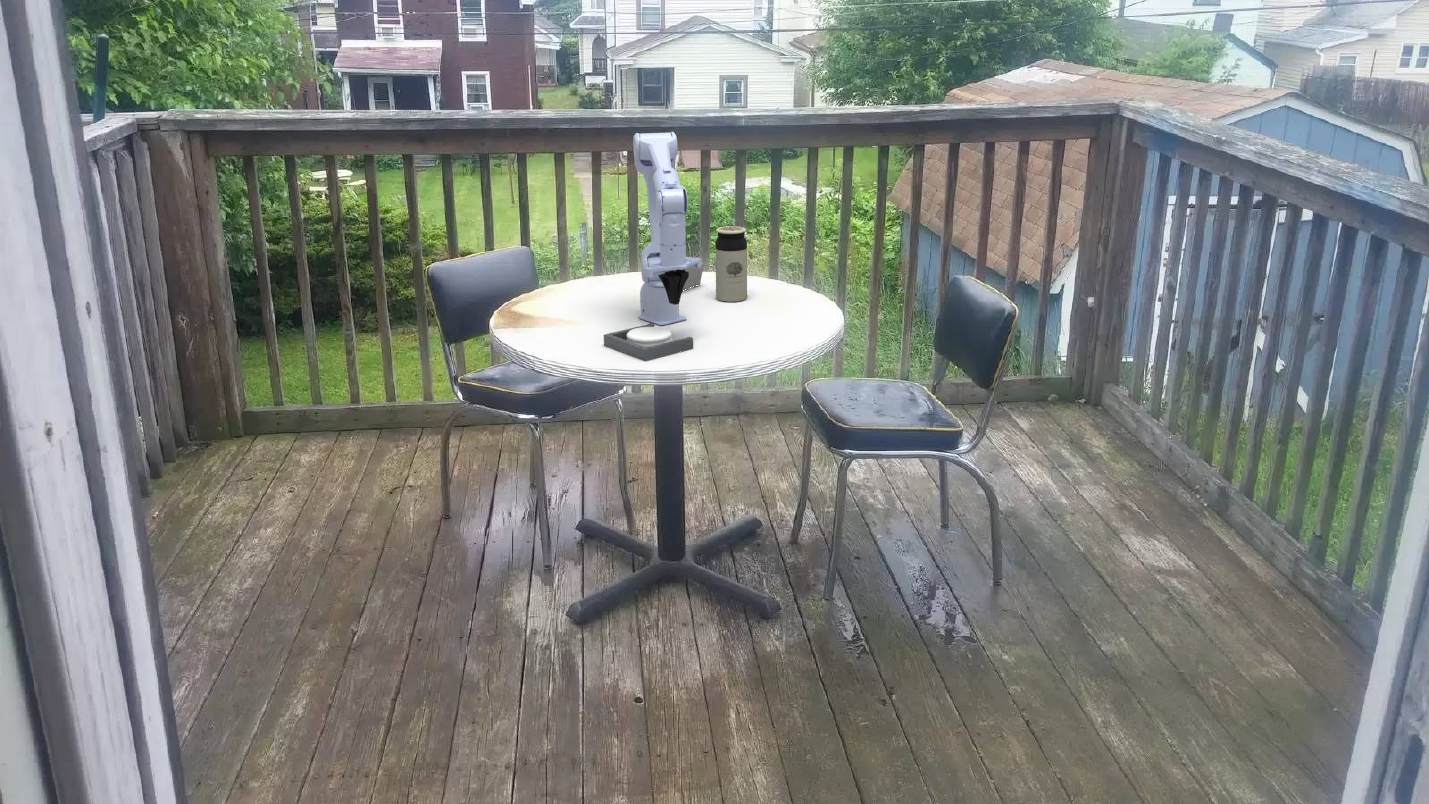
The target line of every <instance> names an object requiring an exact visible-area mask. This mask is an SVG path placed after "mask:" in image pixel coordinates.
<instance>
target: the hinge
mask: <svg viewBox="0 0 1429 804" xmlns="http://www.w3.org/2000/svg"><path fill="white" fill-rule="evenodd" d="M689 258H692V257H689V256H686V259H689ZM704 267H705V265H704V263H702V262H701V267H700V268H697V267H695V268H690V269H686V270H685V271H686V272H689V277H688V279H687V281H686V282H685V285H684V287H683V290H685V289H688V288H690V287H693V286H696V285H699V286H701V281H702V276H703V271H704ZM696 287H697V286H696ZM683 290H682V292H684V291H683ZM688 290H689V289H688ZM685 291H686V290H685Z"/></svg>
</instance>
